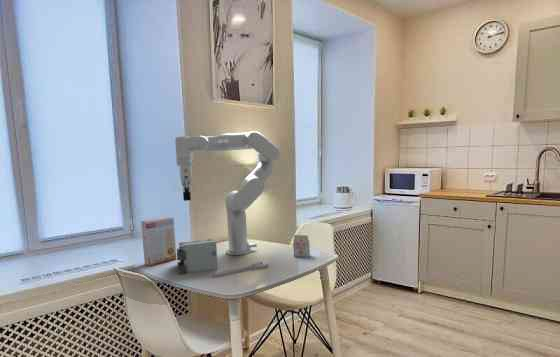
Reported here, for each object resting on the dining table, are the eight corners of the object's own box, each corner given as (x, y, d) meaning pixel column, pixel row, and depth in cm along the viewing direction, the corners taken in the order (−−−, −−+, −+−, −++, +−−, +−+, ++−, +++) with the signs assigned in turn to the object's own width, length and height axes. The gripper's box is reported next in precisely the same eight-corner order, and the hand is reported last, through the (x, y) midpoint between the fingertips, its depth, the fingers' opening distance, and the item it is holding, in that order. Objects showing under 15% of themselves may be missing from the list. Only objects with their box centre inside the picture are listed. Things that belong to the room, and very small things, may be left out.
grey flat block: (217, 267, 152) (215, 240, 152) (218, 269, 149) (216, 242, 148) (184, 271, 148) (182, 244, 148) (184, 273, 145) (183, 245, 144)
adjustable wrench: (212, 279, 138) (212, 275, 138) (209, 275, 144) (208, 270, 143) (269, 268, 148) (269, 264, 148) (264, 264, 154) (263, 260, 154)
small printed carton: (297, 254, 167) (296, 234, 167) (309, 255, 164) (309, 234, 164) (293, 256, 164) (293, 235, 163) (306, 257, 161) (306, 236, 160)
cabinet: (212, 259, 164) (211, 239, 164) (216, 269, 149) (215, 246, 148) (177, 264, 160) (176, 243, 159) (178, 274, 144) (176, 251, 144)
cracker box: (171, 257, 172) (168, 216, 171) (177, 259, 168) (174, 217, 167) (143, 264, 162) (140, 220, 161) (149, 266, 158) (146, 221, 157)
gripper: (193, 161, 158) (196, 201, 159) (191, 162, 174) (194, 197, 175) (176, 162, 156) (179, 202, 157) (176, 162, 172) (178, 199, 173)
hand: (187, 199), depth 166 cm, fingers open, 4 cm apart
